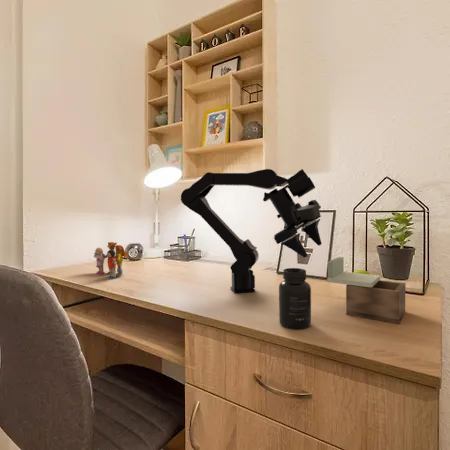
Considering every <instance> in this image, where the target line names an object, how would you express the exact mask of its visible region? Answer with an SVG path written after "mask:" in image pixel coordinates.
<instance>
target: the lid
mask: <svg viewBox="0 0 450 450" xmlns="http://www.w3.org/2000/svg"><path fill="white" fill-rule="evenodd" d="M344 260H345V258H344V257H343V256H339V257H335V258H333V259H331V260H328V261H327V277H326V278H327V279H326V280H327V281H326V282H327V283H331V284H332V283H333V284H340V285H355V286H363V287H371V288H372V287H373V286H374V285H375V284H376V283H377V282H378V281H379V280H381V275H378V274H377V275H375V274H371V275H369V274H359V273H353V272H349V271H348V272H347V271H344V267H345V266H344Z"/></svg>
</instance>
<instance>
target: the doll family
mask: <svg viewBox="0 0 450 450" xmlns="http://www.w3.org/2000/svg"><path fill="white" fill-rule="evenodd" d="M106 247H107V248H108V251H107V253H106V254H105V253H104V250H103V249H102V248H101V247H96V248H95V250H94V253H93V258H94V259H96V265H95V267H96V268H98V271H96V274H97V275H104V274H106V273H105V272H104V265H105V264H104V263H105V260H106V258H107V268H108V270H109V271H108V272H107V275H109V276H108V280H115V279H117V278H119V277H124V274H123V272H124V271H123V268H122V265H123V260H124V259H128V258H129V256H130V254H129V253H128V252H126V251H125V249H124V248H125V247H123V245H120V244H118V242H113V241H110V242H107V246H106ZM116 272H117V273H116Z"/></svg>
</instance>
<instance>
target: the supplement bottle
mask: <svg viewBox="0 0 450 450" xmlns="http://www.w3.org/2000/svg"><path fill="white" fill-rule="evenodd" d="M282 271H283V275H282V279H284V280H283V281H281V282H280V283H279V284H278V305H279V306H278V311H279V313H278V317H279V321H278V322H279V324H280V325H281V326H283V327H284V328H286V329H290V330H304V329H308V328H309V327H310V326H311V325H312V286H311V284H310V283H309V282H308V281H306V280H307V271H306V269H304V268H298V267H291V268H290V267H288V268H284V269H283V270H282Z"/></svg>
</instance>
